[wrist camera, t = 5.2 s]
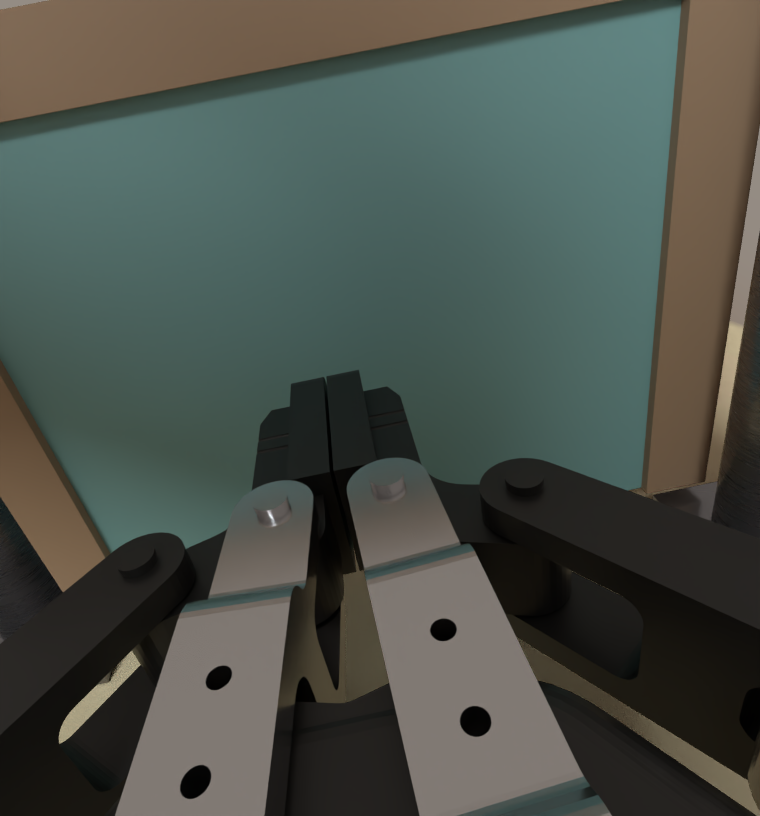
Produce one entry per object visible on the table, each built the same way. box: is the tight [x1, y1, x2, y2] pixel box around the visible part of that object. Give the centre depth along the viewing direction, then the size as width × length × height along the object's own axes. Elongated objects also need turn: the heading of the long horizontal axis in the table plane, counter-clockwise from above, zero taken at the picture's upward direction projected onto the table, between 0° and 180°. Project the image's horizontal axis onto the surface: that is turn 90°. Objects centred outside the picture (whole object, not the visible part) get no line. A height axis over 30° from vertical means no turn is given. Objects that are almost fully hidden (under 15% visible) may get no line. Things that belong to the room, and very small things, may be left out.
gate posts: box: [0, 233, 760, 684], centre depth 13 cm, size 26×7×16 cm, turn 97°
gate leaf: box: [0, 0, 760, 592], centre depth 14 cm, size 19×2×14 cm, turn 97°
